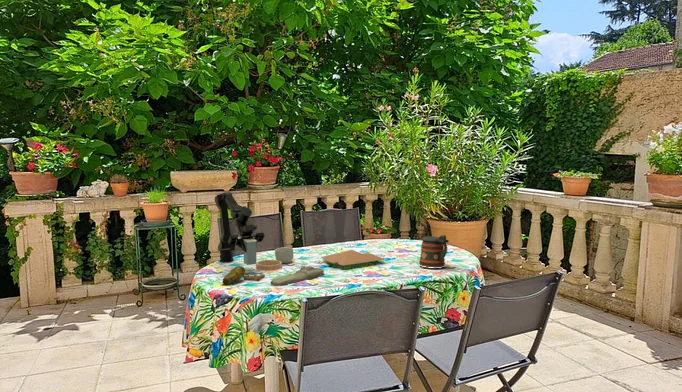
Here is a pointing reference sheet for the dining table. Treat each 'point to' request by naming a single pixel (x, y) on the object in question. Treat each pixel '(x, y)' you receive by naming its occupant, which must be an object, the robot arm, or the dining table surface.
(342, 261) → the brown flat block
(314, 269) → the long grey stone
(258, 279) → the parts tray
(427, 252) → the beer stein
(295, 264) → the dining table surface
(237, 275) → the potato
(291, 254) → the teacup
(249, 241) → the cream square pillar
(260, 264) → the tan polygonal ring
